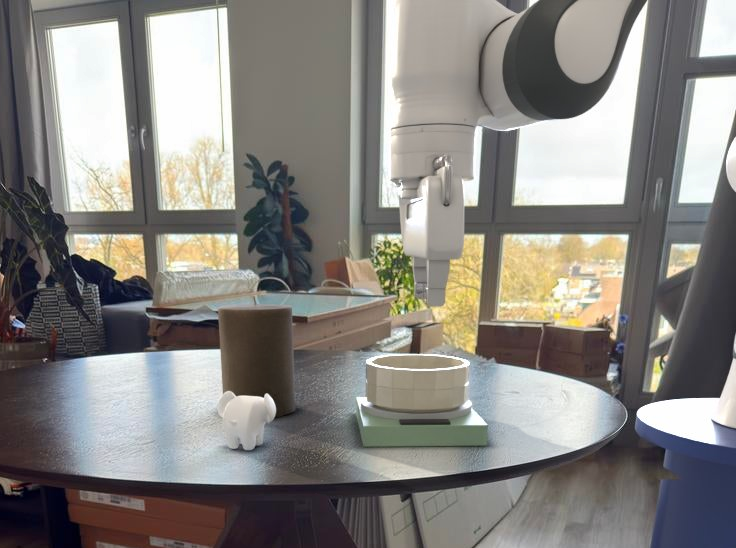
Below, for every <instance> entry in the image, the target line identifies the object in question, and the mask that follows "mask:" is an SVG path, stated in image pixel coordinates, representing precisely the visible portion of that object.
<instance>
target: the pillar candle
mask: <svg viewBox="0 0 736 548" xmlns="http://www.w3.org/2000/svg"><path fill="white" fill-rule="evenodd" d="M252 299H253V304H228V305H222V306H218V307H217V319H218V330H219V331H218V332H219V347H220V348H219V350H220V351H219V352H220V364H221V365H220V366H221V367H220V369H221V388H222V395H223V394H224V393H225V392H227V391H231V392H233V393H234V394H235V396H257V397H262V398H264V396H265V394H269V396H270V397H271V398H272V399H273V401H274V403H275V406H276V415H275V417H274V418H280V417H283V416H287V415H289V414H292V413H294V412H295V411H296V385H295V383H296V381H295V357H294V356H295V355H294V353H295V352H294V351H295V350H294V328H293V325H294V324H293V306H292V305H289V304H274V303H272V304H271V303H270V304H267V303H266V304H265V303H264V304H262V303H257V300H256V297H255V295H253V296H252Z"/></svg>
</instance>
